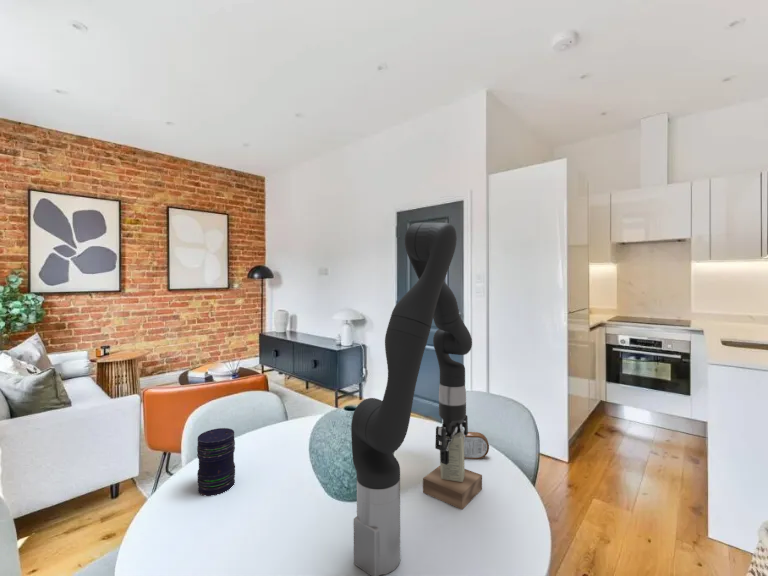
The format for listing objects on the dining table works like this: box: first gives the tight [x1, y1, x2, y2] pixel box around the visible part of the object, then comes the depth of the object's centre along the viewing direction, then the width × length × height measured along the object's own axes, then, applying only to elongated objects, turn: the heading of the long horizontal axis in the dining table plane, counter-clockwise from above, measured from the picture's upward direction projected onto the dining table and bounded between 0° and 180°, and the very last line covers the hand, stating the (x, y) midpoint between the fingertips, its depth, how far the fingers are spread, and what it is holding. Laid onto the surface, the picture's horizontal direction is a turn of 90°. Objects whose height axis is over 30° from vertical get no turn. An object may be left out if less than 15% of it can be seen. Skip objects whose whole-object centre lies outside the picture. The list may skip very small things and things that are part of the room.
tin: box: [464, 431, 490, 460], centre depth 120 cm, size 15×3×8 cm, turn 86°
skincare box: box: [439, 432, 466, 482], centre depth 100 cm, size 6×4×12 cm
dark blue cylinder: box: [196, 427, 236, 497], centre depth 103 cm, size 10×10×15 cm
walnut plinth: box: [422, 465, 483, 510], centre depth 101 cm, size 12×12×4 cm
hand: (452, 457), depth 101 cm, fingers open, 8 cm apart
